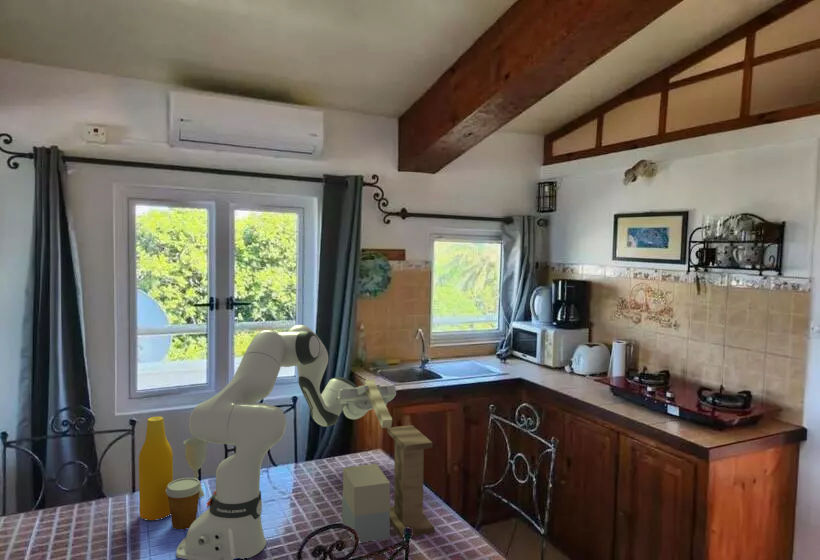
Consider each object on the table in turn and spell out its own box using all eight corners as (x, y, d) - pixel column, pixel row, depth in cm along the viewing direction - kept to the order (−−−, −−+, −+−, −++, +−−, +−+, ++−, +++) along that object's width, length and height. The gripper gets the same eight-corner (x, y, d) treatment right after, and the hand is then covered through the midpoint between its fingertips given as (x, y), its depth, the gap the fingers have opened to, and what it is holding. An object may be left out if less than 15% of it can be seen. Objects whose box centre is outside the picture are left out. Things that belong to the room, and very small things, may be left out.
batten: (364, 387, 190) (365, 380, 189) (372, 386, 191) (373, 379, 190) (382, 428, 172) (383, 420, 170) (391, 427, 173) (392, 419, 171)
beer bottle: (138, 524, 158) (136, 425, 157) (140, 510, 167) (139, 415, 165) (173, 518, 162) (172, 421, 160) (173, 505, 170) (172, 412, 169)
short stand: (383, 512, 167) (384, 428, 166) (414, 507, 171) (415, 424, 170) (401, 538, 152) (402, 446, 151) (434, 532, 156) (435, 442, 155)
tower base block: (342, 521, 162) (342, 494, 162) (374, 515, 166) (374, 489, 165) (354, 545, 149) (354, 516, 149) (389, 538, 152) (389, 510, 152)
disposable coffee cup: (204, 527, 157) (204, 486, 156) (168, 536, 152) (168, 493, 151) (198, 513, 165) (197, 474, 165) (163, 521, 160) (163, 481, 159)
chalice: (182, 501, 173) (182, 445, 172) (185, 492, 179) (184, 438, 178) (207, 499, 175) (207, 443, 174) (209, 490, 181) (208, 436, 180)
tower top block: (343, 494, 162) (343, 467, 161) (376, 489, 165) (376, 463, 165) (354, 516, 149) (354, 487, 148) (389, 511, 152) (390, 482, 151)
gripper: (333, 392, 196) (341, 380, 184) (387, 388, 203) (398, 376, 191) (335, 410, 193) (343, 399, 182) (390, 405, 200) (401, 394, 189)
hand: (372, 387), depth 187 cm, fingers closed on batten, 3 cm apart
